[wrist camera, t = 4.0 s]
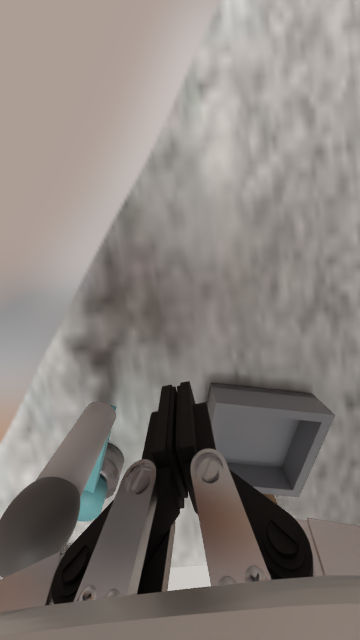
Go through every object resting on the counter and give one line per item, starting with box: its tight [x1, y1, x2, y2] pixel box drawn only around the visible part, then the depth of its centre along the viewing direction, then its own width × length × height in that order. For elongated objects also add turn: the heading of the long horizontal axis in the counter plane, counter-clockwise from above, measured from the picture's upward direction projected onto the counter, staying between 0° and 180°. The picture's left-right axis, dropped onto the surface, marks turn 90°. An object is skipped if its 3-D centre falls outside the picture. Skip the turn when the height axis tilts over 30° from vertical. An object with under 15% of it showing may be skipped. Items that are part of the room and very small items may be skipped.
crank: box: [0, 402, 116, 578], centre depth 11 cm, size 13×4×8 cm, turn 163°
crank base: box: [100, 443, 124, 499], centre depth 18 cm, size 5×5×2 cm
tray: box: [207, 383, 335, 497], centre depth 16 cm, size 10×10×2 cm
